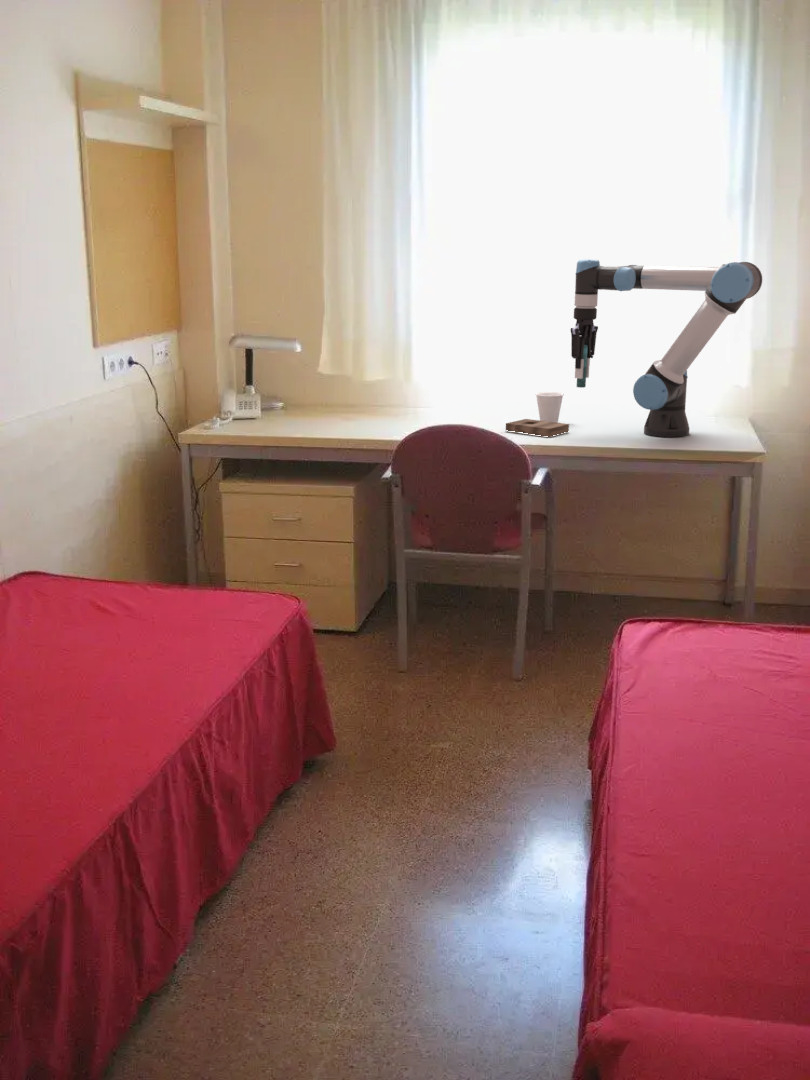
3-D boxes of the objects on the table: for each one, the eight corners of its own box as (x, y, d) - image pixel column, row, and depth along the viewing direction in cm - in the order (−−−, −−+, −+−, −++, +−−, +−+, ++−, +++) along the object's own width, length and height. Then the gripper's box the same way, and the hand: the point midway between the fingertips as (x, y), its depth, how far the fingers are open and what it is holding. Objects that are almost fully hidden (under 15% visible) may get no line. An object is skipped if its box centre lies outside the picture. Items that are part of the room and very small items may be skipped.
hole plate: (568, 432, 396) (568, 424, 395) (548, 437, 387) (549, 428, 386) (525, 427, 407) (526, 418, 406) (505, 431, 399) (505, 423, 398)
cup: (543, 427, 406) (544, 396, 403) (530, 423, 415) (530, 393, 412) (567, 425, 410) (568, 394, 407) (554, 421, 419) (555, 391, 416)
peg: (587, 386, 390) (589, 345, 386) (582, 387, 388) (584, 346, 384) (579, 385, 392) (581, 344, 388) (574, 386, 390) (576, 345, 386)
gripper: (589, 305, 391) (585, 374, 397) (562, 307, 379) (559, 378, 386) (608, 306, 386) (604, 376, 393) (581, 309, 375) (577, 381, 381)
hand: (581, 377), depth 389 cm, fingers closed on peg, 3 cm apart
